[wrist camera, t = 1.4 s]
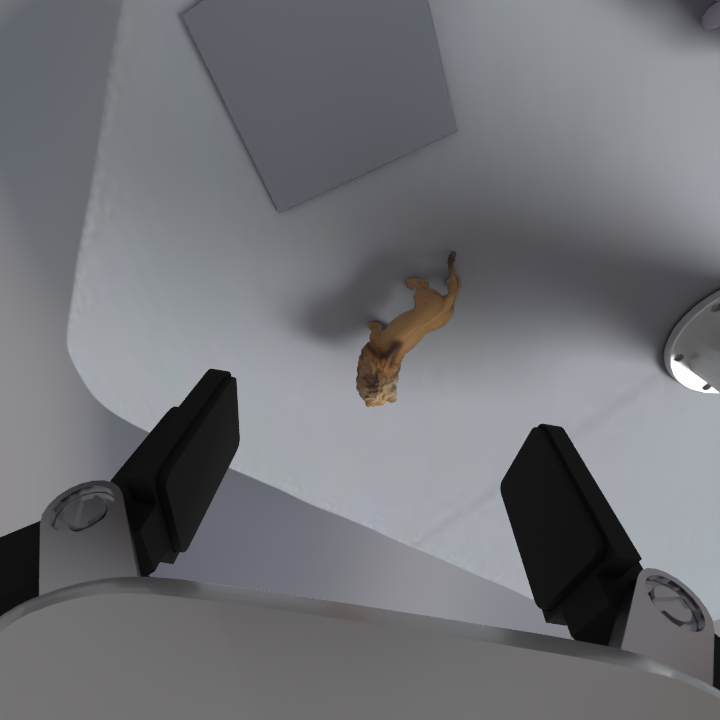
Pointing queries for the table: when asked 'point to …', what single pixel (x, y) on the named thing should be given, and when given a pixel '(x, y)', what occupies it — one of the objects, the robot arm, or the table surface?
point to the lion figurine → (402, 338)
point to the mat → (324, 85)
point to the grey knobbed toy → (711, 17)
